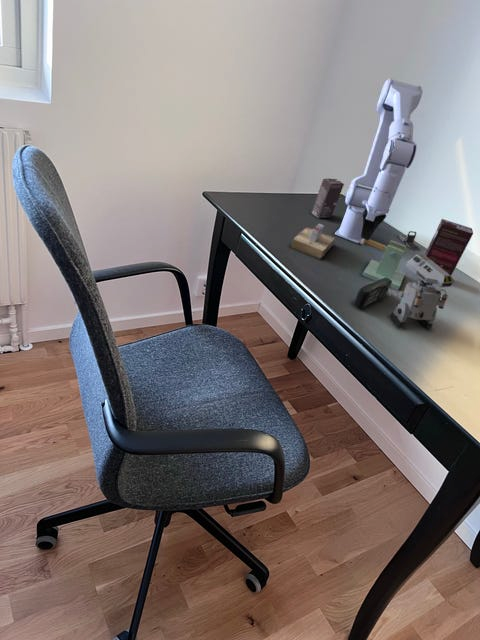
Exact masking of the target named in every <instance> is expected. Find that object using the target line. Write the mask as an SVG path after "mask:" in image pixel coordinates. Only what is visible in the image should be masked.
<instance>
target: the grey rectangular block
mask: <svg viewBox="0 0 480 640" xmlns="http://www.w3.org/2000/svg"><path fill="white" fill-rule="evenodd" d="M324 227H325V225H324V224H321V223H318V224H316V225H315V227H313V228H312V229H313V230H312V233H311V236H310V239H309V240H310V241H313V242H315V241H316V240H317V239H318V238H319V237H320V236H321V233H323V230H324Z"/></svg>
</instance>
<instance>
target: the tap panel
mask: <svg viewBox="0 0 480 640" xmlns="http://www.w3.org/2000/svg"><path fill="white" fill-rule="evenodd" d="M312 230H313V228H311V227H308V226H307V227H305V228H304V229H303V230H302V231H298V234H297V235H296V236H295V237H294V238H293V239H292V241H291V245H290V247H291V248H292V249H295V250H297V251H300V252H302V253H305V254H307V255H310V256H312V257H314V258H316V259H319V260H321V259H322V258H323V257H324V256H325V255H326V253H328V252H329V250H330V249H331V248H332V247H333V246H334V242H335V240H336V238H335V237H333V236H331V235H328V234H325V233H323V232H322V233H321V236H320V237H319V238H318V239H317V240H316V241H315V242H313V241H310V240H309V239H310V236H311V233H312Z"/></svg>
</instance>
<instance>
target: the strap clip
mask: <svg viewBox="0 0 480 640" xmlns="http://www.w3.org/2000/svg"><path fill="white" fill-rule="evenodd" d="M411 233H414V234H411ZM416 237H417V232H416V231H412V230H410V231H408V232H407V235H404V234H399V235H398V238H399V239H400V240H401V241H402V242H403V243H405V246H406V247H408V248H410V249H412V250H419V246H418V245H416V244H415V243H414V241H415V239H416Z"/></svg>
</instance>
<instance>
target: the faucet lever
mask: <svg viewBox="0 0 480 640" xmlns="http://www.w3.org/2000/svg"><path fill="white" fill-rule="evenodd" d="M359 244H360V245H364V244H367V245H370V246H372V247H373V248H374V247H375V248H377V249H379V250H382V251H384V252H385V250H386V248H387V246H388V245H385V244H382V243H380V242H378V241H376V240H372V239H371V238H370V239H369V240H366V239H362V240H361V241H360V243H359ZM391 246H393V247H396V248H398V249H401V250H402V248H399V247H397V246H394V245H391Z"/></svg>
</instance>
